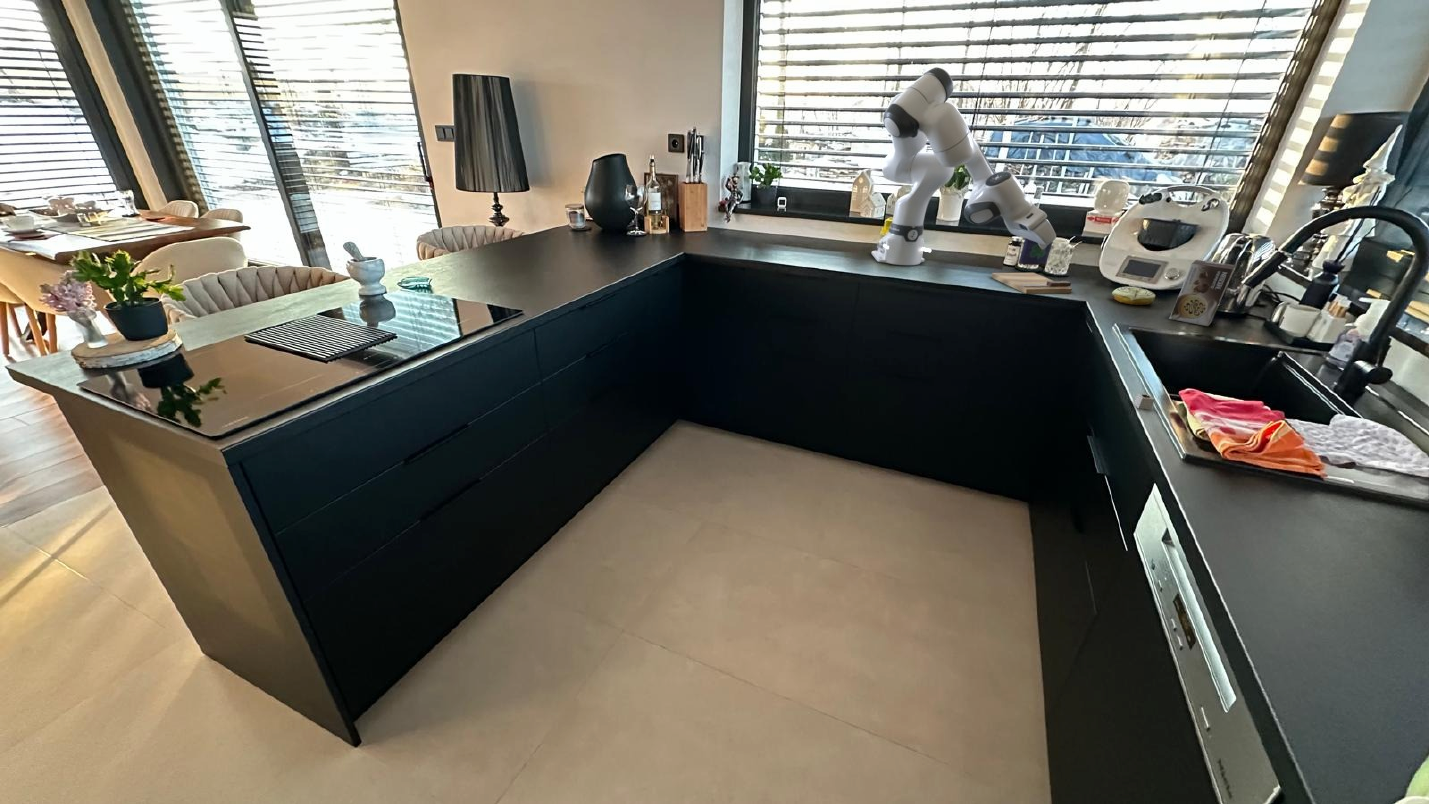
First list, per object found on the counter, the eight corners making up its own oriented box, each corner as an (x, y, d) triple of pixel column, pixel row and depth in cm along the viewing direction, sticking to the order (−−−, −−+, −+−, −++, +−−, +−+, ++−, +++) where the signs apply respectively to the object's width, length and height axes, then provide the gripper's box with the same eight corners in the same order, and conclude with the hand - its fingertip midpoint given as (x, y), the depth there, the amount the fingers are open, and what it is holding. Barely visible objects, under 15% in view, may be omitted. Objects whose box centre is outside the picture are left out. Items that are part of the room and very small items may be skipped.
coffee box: (1211, 322, 157) (1237, 265, 150) (1208, 327, 153) (1234, 268, 146) (1172, 314, 163) (1195, 258, 155) (1168, 318, 159) (1191, 262, 151)
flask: (1043, 263, 188) (1053, 230, 183) (1048, 265, 185) (1058, 232, 180) (1016, 262, 188) (1026, 230, 182) (1020, 264, 185) (1030, 232, 180)
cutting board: (990, 277, 196) (991, 273, 196) (1032, 276, 198) (1033, 272, 198) (1025, 293, 179) (1026, 289, 178) (1070, 292, 181) (1072, 288, 180)
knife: (1020, 285, 182) (1022, 281, 182) (1065, 284, 184) (1066, 280, 184) (1025, 286, 180) (1026, 283, 180) (1070, 286, 182) (1071, 282, 182)
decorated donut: (1102, 297, 177) (1107, 286, 175) (1128, 295, 179) (1132, 284, 178) (1133, 307, 168) (1137, 295, 166) (1159, 305, 171) (1164, 293, 169)
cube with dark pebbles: (1138, 408, 109) (1143, 396, 107) (1133, 403, 110) (1138, 392, 109) (1150, 409, 108) (1155, 398, 107) (1145, 404, 110) (1150, 393, 109)
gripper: (993, 217, 188) (1012, 246, 193) (1031, 228, 170) (1050, 260, 176) (1009, 203, 186) (1028, 233, 192) (1049, 213, 168) (1068, 246, 174)
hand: (1039, 246), depth 184 cm, fingers closed on flask, 3 cm apart
